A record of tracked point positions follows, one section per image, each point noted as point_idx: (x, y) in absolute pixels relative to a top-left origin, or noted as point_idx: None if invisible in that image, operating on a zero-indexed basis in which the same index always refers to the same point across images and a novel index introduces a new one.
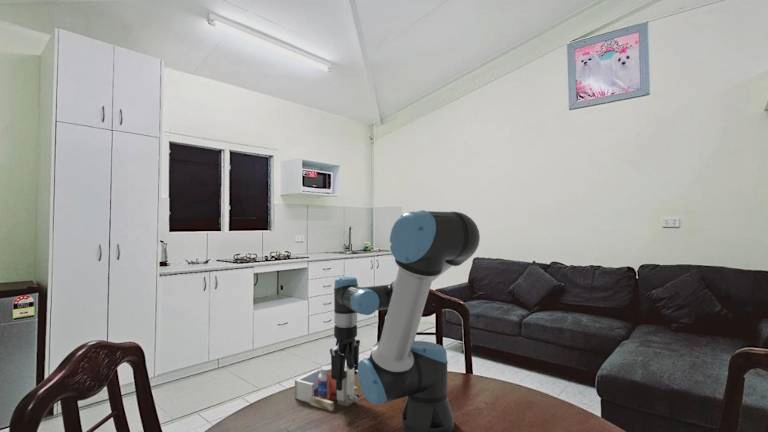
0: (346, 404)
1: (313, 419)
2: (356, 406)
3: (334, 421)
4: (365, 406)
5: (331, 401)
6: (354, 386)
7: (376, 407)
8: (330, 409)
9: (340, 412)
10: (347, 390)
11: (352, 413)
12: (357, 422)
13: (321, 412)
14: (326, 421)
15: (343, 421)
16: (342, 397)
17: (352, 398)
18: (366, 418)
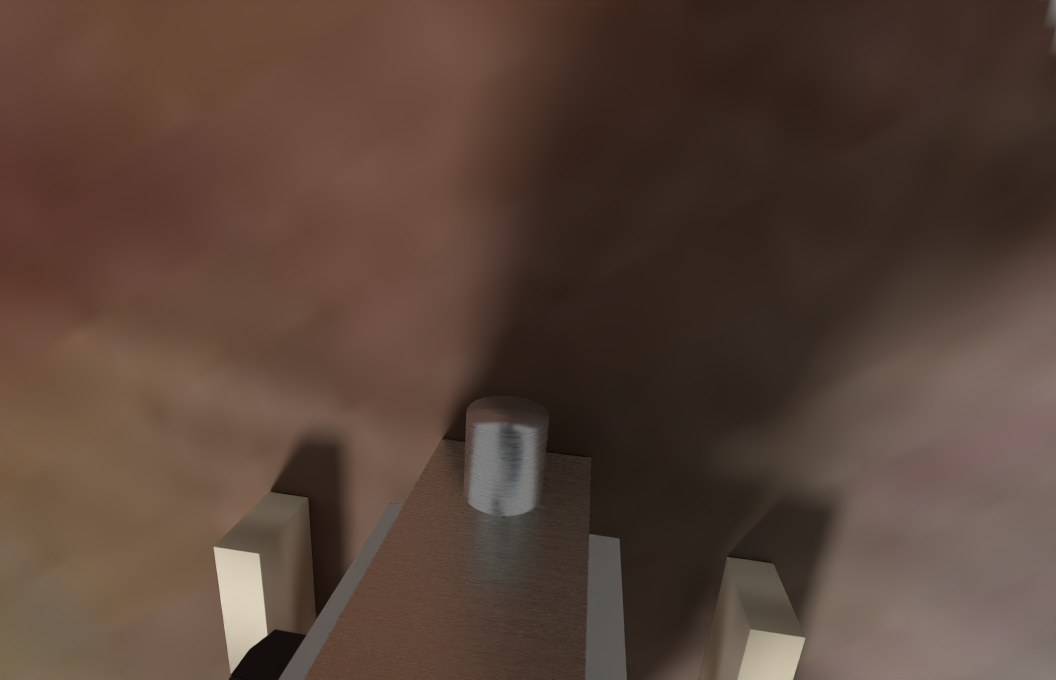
0: (590, 479)
1: (1023, 643)
2: (542, 360)
3: (1019, 421)
4: (491, 255)
5: (748, 655)
6: (220, 581)
7: (448, 95)
8: (774, 585)
9: (763, 461)
10: (580, 602)
11: (738, 318)
12: (976, 123)
13: (834, 637)
14: (1041, 504)
15: (992, 320)
16: (619, 581)
17: (541, 456)
18: (816, 59)
